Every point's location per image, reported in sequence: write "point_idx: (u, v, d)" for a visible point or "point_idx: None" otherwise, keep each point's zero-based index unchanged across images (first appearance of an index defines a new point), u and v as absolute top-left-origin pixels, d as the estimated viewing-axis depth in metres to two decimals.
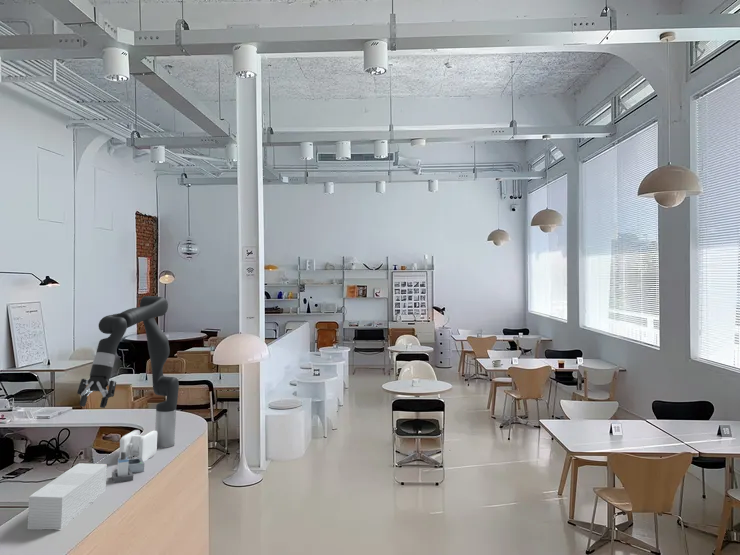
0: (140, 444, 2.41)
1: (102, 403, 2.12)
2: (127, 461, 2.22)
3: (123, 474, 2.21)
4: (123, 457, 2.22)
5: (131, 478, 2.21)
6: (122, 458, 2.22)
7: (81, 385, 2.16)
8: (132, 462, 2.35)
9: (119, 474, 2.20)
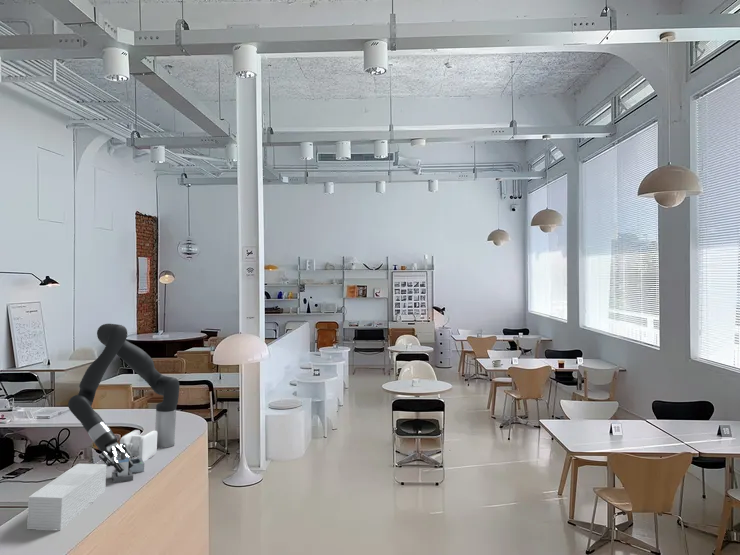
0: (140, 444, 2.41)
1: None
2: (127, 461, 2.22)
3: (123, 474, 2.21)
4: (123, 457, 2.22)
5: (131, 478, 2.21)
6: (122, 458, 2.22)
7: None
8: (132, 462, 2.35)
9: (119, 474, 2.20)
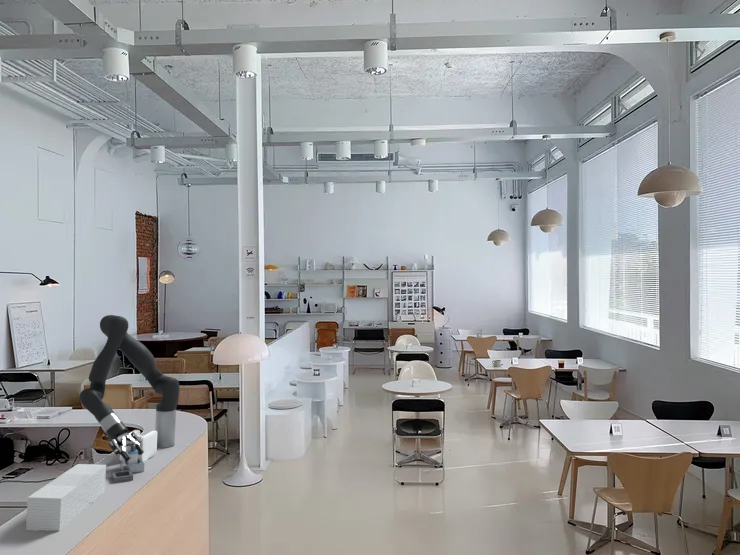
0: (140, 444, 2.41)
1: (124, 458, 2.28)
2: (136, 453, 2.32)
3: None
4: (133, 449, 2.32)
5: (131, 478, 2.21)
6: (132, 450, 2.32)
7: None
8: None
9: None
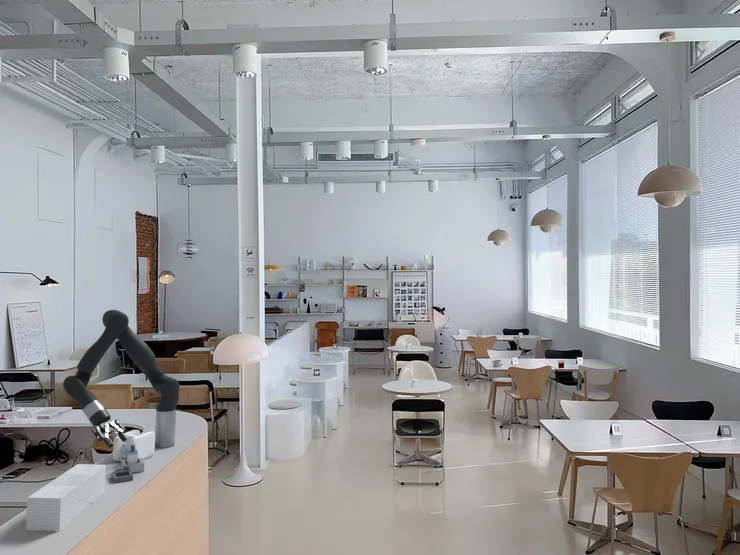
0: (131, 444, 2.40)
1: None
2: (136, 453, 2.32)
3: None
4: (133, 449, 2.32)
5: (131, 478, 2.21)
6: (132, 450, 2.32)
7: None
8: None
9: None
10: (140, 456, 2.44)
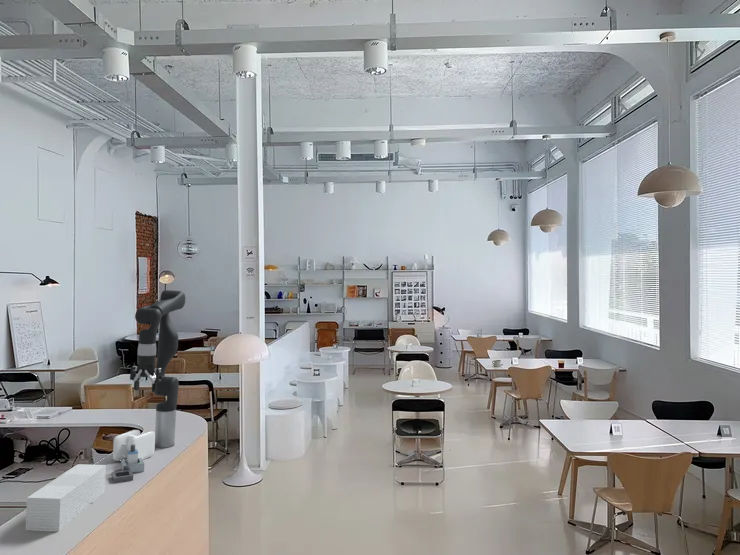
0: None
1: (153, 388, 2.40)
2: (136, 453, 2.32)
3: None
4: (133, 449, 2.32)
5: (131, 478, 2.21)
6: (132, 450, 2.32)
7: (132, 372, 2.42)
8: None
9: None
10: (140, 456, 2.44)
